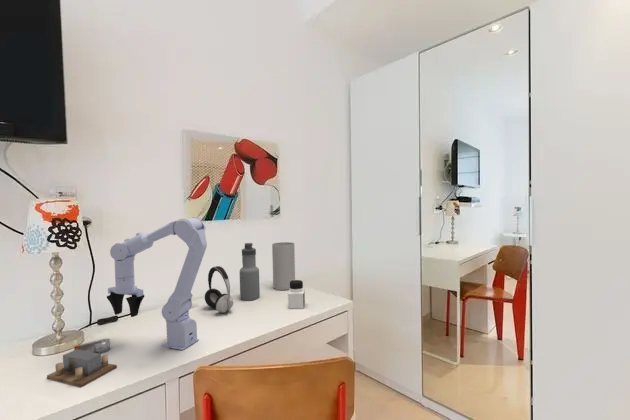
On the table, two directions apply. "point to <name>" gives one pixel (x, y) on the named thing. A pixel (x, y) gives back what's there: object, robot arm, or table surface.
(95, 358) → the steel bar
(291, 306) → the medicine bottle
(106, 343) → the silver lever knob
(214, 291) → the headphones
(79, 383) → the walnut board
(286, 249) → the cylinder vase
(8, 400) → the table surface
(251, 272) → the water bottle
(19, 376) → the table surface
